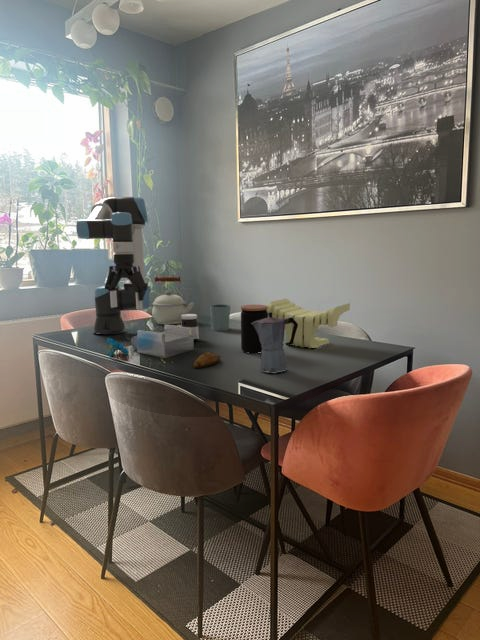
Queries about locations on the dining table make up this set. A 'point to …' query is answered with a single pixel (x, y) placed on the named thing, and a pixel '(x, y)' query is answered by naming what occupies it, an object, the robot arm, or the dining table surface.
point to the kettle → (169, 304)
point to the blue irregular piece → (116, 347)
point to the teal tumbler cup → (220, 317)
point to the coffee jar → (251, 327)
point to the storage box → (164, 341)
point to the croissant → (206, 360)
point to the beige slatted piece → (305, 321)
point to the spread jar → (191, 324)
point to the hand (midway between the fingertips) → (126, 308)
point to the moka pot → (273, 341)
